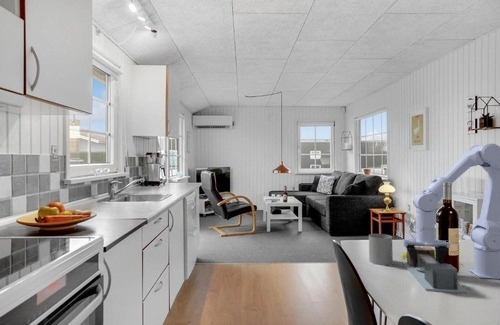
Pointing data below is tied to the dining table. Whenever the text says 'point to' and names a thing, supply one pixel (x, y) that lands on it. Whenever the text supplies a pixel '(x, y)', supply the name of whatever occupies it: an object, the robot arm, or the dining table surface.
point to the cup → (380, 249)
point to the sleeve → (441, 276)
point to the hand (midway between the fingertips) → (426, 267)
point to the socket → (421, 249)
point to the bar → (424, 259)
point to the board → (421, 279)
